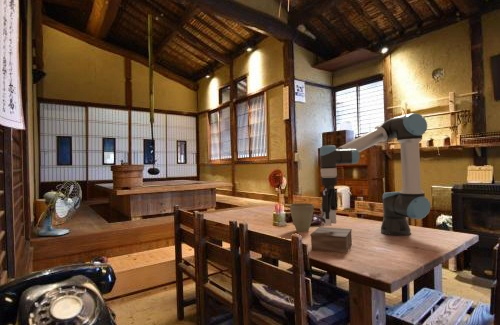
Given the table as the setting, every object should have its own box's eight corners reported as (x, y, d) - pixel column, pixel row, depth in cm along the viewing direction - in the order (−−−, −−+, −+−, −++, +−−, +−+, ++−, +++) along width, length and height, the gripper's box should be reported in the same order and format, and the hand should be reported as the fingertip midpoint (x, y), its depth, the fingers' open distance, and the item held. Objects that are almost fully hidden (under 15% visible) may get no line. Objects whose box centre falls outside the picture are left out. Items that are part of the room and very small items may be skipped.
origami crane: (339, 213, 143) (324, 198, 147) (326, 224, 138) (311, 208, 142) (331, 223, 151) (317, 209, 155) (318, 234, 146) (304, 219, 150)
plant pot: (294, 234, 172) (293, 207, 172) (287, 229, 187) (286, 204, 187) (319, 232, 174) (317, 205, 174) (310, 227, 189) (309, 202, 189)
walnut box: (319, 242, 155) (319, 226, 155) (352, 244, 147) (351, 228, 147) (311, 251, 140) (310, 234, 140) (346, 254, 133) (345, 236, 133)
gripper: (329, 176, 153) (331, 220, 153) (313, 178, 139) (315, 227, 139) (343, 175, 149) (345, 221, 148) (328, 178, 134) (330, 228, 134)
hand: (331, 224), depth 144 cm, fingers closed on origami crane, 5 cm apart
